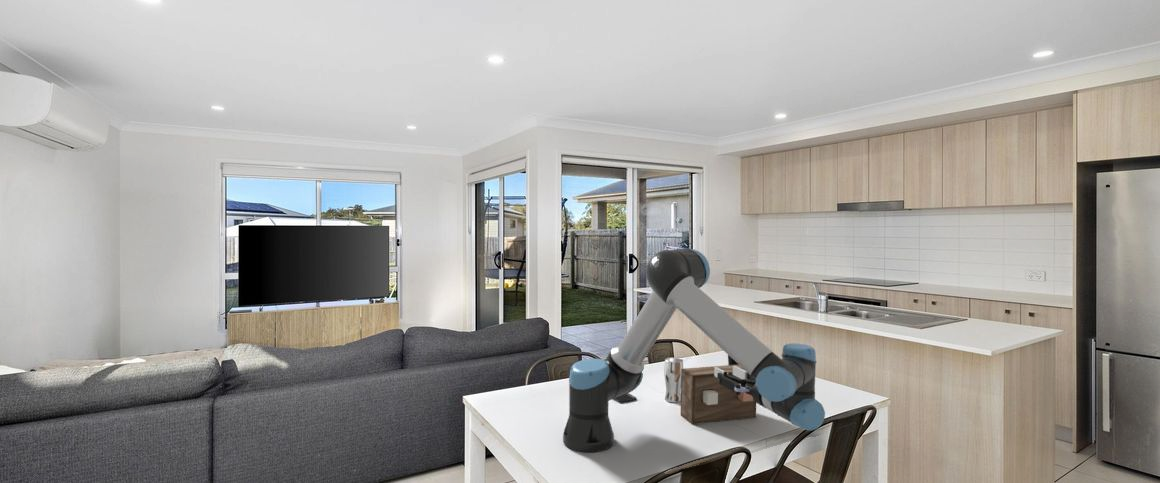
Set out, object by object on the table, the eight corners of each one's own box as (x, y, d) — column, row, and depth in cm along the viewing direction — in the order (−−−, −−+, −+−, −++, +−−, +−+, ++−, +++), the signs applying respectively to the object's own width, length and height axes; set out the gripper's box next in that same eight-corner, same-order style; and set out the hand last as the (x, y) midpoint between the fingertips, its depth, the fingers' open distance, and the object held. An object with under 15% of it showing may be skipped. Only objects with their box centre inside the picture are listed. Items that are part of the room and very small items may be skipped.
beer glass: (686, 399, 189) (687, 359, 188) (676, 404, 184) (676, 363, 183) (670, 395, 193) (671, 356, 193) (660, 400, 188) (660, 359, 188)
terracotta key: (752, 400, 168) (753, 389, 168) (743, 401, 167) (743, 390, 167) (742, 394, 173) (742, 384, 173) (733, 395, 172) (733, 385, 172)
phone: (615, 386, 201) (637, 398, 188) (615, 389, 201) (637, 401, 188) (598, 389, 197) (619, 401, 184) (598, 392, 197) (619, 404, 184)
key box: (756, 417, 172) (757, 370, 172) (691, 424, 166) (692, 375, 165) (742, 409, 180) (743, 364, 179) (680, 415, 174) (681, 368, 173)
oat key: (717, 404, 164) (717, 393, 164) (707, 405, 163) (707, 393, 163) (708, 398, 170) (708, 387, 170) (698, 398, 169) (698, 388, 169)
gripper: (741, 413, 132) (697, 385, 155) (802, 406, 138) (750, 380, 160) (741, 384, 132) (697, 360, 154) (802, 379, 137) (751, 356, 160)
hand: (724, 370), depth 157 cm, fingers open, 6 cm apart
